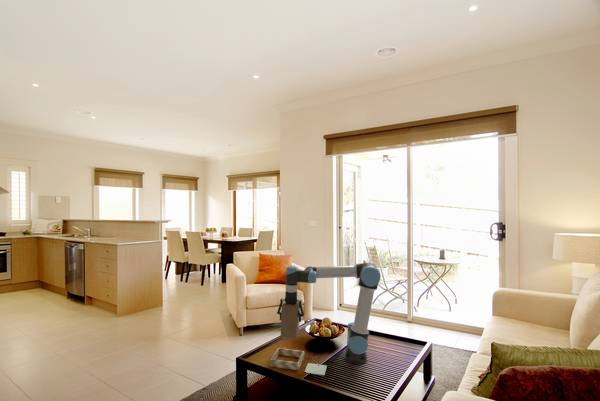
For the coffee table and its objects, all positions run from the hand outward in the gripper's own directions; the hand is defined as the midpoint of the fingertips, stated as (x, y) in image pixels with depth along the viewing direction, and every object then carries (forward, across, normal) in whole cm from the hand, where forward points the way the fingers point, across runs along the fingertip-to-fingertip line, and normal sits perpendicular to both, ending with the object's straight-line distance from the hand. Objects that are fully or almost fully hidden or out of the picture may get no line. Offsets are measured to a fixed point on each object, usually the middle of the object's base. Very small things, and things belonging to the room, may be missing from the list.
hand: (290, 326), depth 211 cm
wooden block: (+6, 0, 0) cm, 6 cm away
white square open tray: (+23, +1, 0) cm, 23 cm away
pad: (+23, -18, +5) cm, 29 cm away
